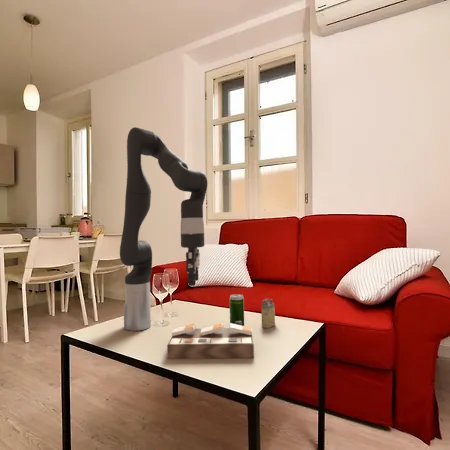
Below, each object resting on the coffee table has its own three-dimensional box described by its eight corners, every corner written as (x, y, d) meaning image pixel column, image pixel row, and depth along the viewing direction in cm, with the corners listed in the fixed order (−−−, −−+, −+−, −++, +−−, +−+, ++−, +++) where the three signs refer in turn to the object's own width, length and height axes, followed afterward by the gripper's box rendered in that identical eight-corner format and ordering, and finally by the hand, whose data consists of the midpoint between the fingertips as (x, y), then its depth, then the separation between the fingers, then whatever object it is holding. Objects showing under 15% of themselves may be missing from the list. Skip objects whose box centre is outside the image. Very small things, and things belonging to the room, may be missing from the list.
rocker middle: (201, 335, 95) (200, 332, 95) (202, 331, 99) (201, 328, 99) (223, 330, 95) (222, 326, 95) (223, 326, 99) (222, 322, 99)
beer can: (246, 328, 113) (246, 296, 113) (233, 330, 112) (232, 297, 112) (241, 324, 118) (240, 293, 118) (228, 326, 117) (227, 294, 117)
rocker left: (172, 336, 96) (171, 332, 96) (174, 331, 100) (174, 328, 100) (194, 330, 95) (193, 327, 95) (195, 326, 99) (194, 323, 99)
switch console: (167, 358, 89) (167, 342, 89) (176, 340, 103) (176, 326, 103) (253, 357, 88) (253, 341, 88) (251, 339, 102) (250, 325, 102)
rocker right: (229, 330, 95) (230, 326, 95) (229, 326, 99) (230, 322, 99) (251, 335, 95) (252, 331, 95) (250, 330, 99) (251, 327, 99)
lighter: (268, 322, 121) (267, 296, 121) (277, 323, 118) (276, 298, 118) (259, 327, 115) (259, 300, 115) (269, 329, 113) (268, 301, 113)
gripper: (184, 232, 105) (185, 279, 105) (176, 233, 91) (178, 287, 91) (205, 231, 105) (206, 278, 105) (202, 232, 91) (203, 287, 91)
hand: (193, 282), depth 98 cm, fingers open, 8 cm apart
